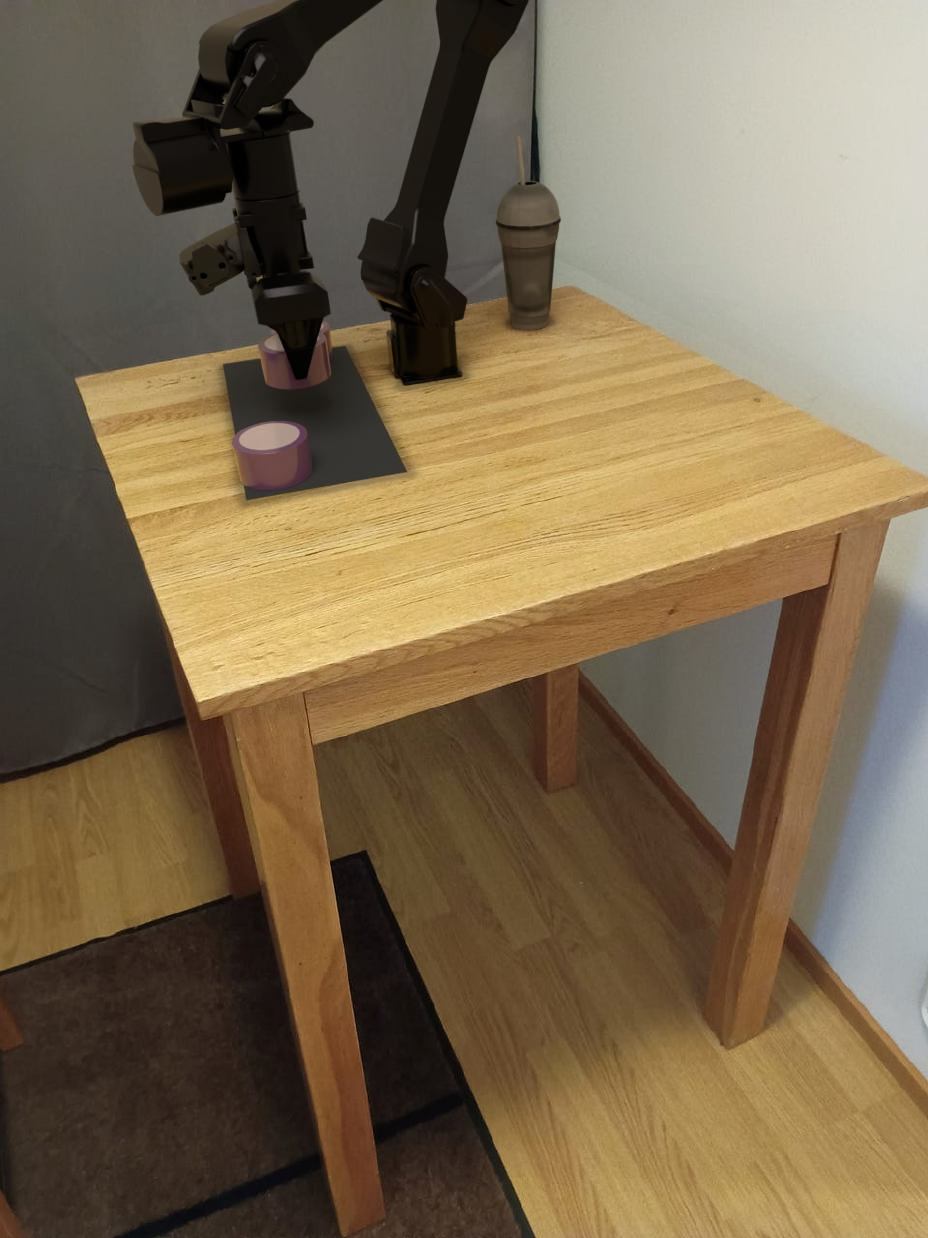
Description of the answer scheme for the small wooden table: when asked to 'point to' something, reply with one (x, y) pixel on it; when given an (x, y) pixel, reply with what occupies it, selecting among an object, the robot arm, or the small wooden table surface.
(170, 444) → the small wooden table surface
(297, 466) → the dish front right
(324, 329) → the short purple cylinder
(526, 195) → the beverage cup
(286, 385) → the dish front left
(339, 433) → the placemat
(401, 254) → the robot arm
